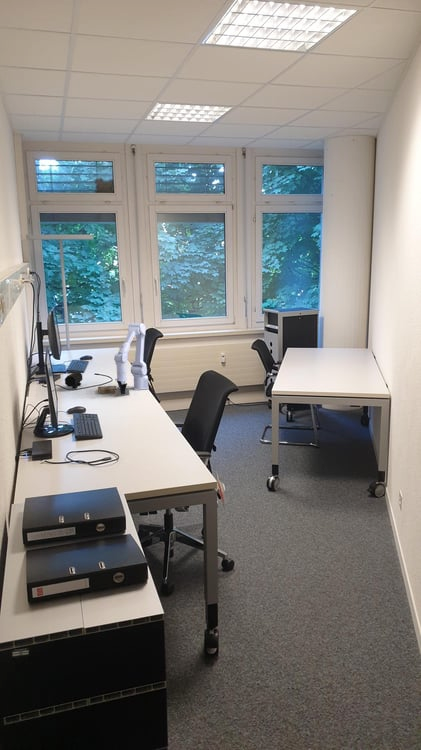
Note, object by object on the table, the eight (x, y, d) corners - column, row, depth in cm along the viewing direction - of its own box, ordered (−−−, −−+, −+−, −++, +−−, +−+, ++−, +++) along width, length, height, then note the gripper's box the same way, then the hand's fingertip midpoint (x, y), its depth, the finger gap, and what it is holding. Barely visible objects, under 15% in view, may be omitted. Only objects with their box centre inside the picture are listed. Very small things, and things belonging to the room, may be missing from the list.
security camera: (84, 385, 378) (83, 371, 375) (75, 391, 360) (74, 376, 358) (74, 385, 378) (73, 370, 376) (65, 391, 360) (64, 376, 358)
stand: (116, 388, 366) (116, 385, 365) (118, 392, 354) (118, 389, 354) (98, 390, 363) (98, 386, 362) (99, 394, 351) (99, 390, 351)
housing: (128, 393, 352) (128, 386, 351) (129, 395, 348) (129, 387, 347) (115, 394, 350) (114, 387, 349) (116, 396, 346) (115, 388, 345)
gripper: (113, 370, 352) (114, 390, 355) (116, 374, 338) (117, 395, 341) (124, 369, 354) (125, 389, 357) (127, 373, 340) (128, 395, 343)
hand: (122, 392), depth 349 cm, fingers open, 7 cm apart
